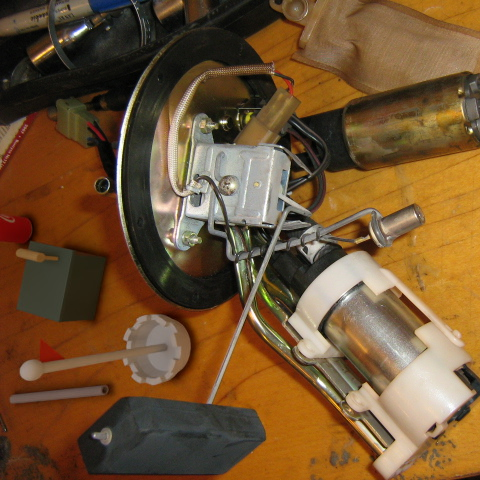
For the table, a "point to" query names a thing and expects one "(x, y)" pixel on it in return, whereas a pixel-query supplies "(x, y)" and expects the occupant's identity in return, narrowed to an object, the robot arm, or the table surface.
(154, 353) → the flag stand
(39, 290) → the box lid
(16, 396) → the metal rod
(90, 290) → the dark green open box
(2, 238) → the beverage can
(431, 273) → the table surface
